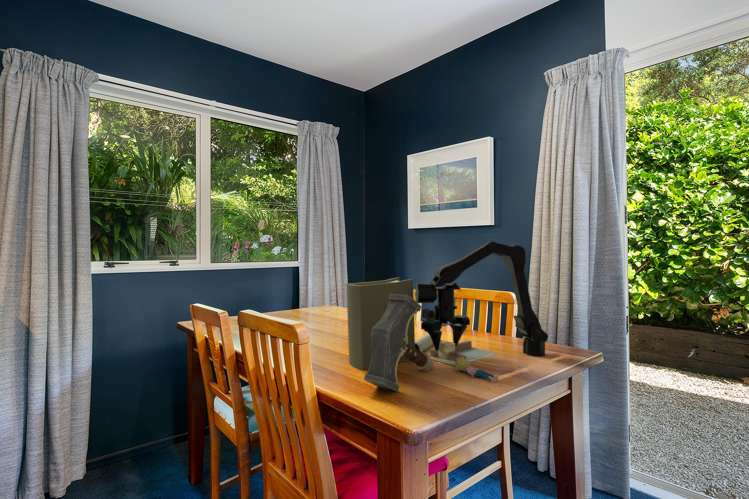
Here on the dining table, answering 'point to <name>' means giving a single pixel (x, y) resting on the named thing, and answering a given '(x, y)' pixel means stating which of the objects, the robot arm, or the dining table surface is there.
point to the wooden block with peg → (448, 351)
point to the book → (371, 315)
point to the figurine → (472, 369)
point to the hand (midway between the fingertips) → (446, 348)
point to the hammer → (394, 343)
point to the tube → (423, 342)
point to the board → (463, 353)
